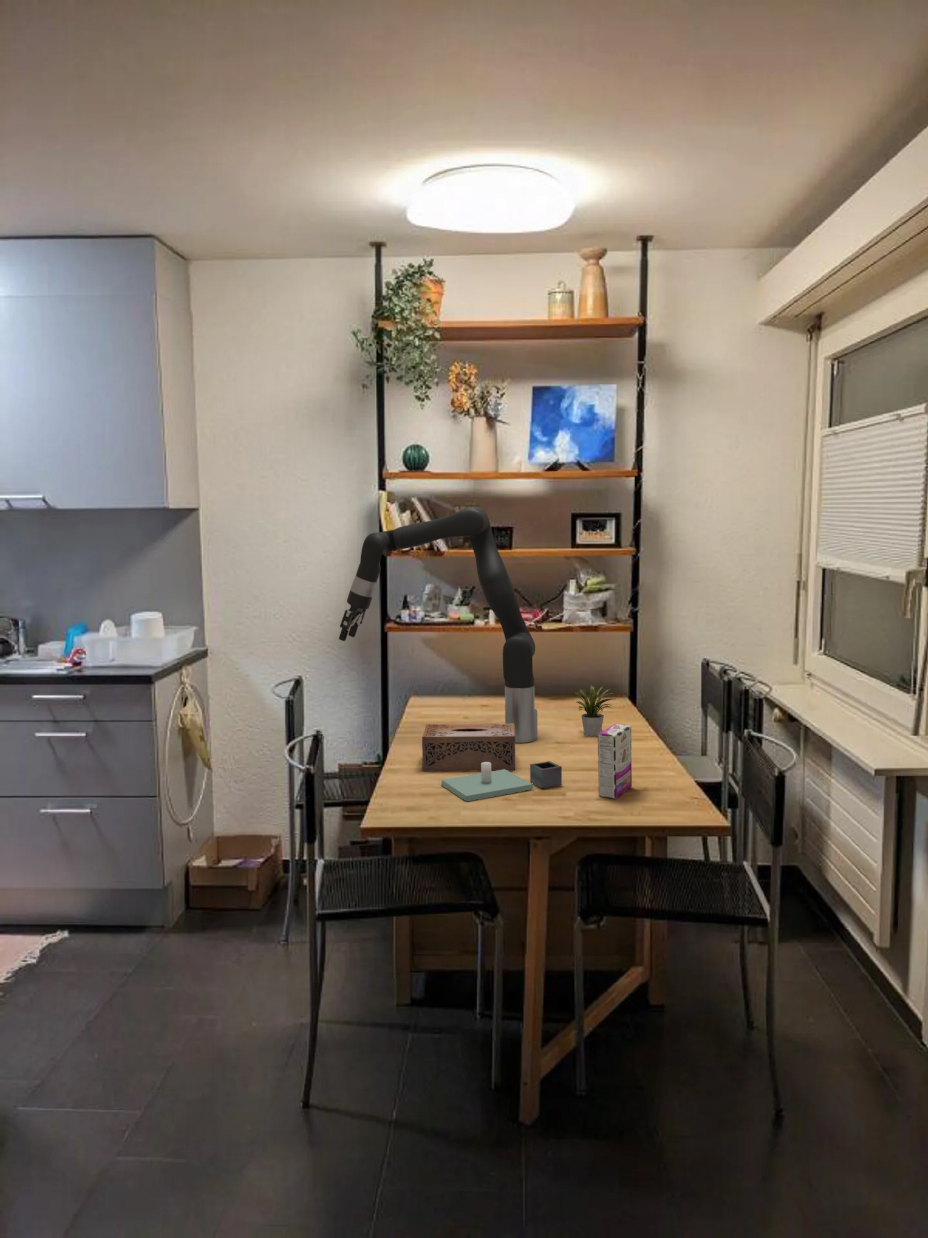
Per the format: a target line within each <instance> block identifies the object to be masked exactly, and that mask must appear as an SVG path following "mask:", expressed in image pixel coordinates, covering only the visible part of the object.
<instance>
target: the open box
mask: <svg viewBox="0 0 928 1238" xmlns="http://www.w3.org/2000/svg"><path fill="white" fill-rule="evenodd" d="M562 768H563V767H562V766H560V765H558V764H556V763H554V762H552V761H551V760H548V761H542V762H536V763H530V764H529V776H530V779H529V783H530V782H531V784H532V783H533V785H534V786H535V787H538V788H539V787H540V788H539V789H541V788H544V789H548V788H549V787H550V788H554V787H559V786H560V785H561V786H562V785H563V783H562V781H563V780H562V776H563V775H562V773H563V772H562V770H563V769H562ZM561 786H560V787H561Z"/></svg>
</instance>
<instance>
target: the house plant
mask: <svg viewBox="0 0 928 1238" xmlns="http://www.w3.org/2000/svg"><path fill="white" fill-rule="evenodd" d="M603 687H604V685H602V686H601V687H600V688H599V689H598V690H597V692H596V690H595V686H593V684H592V683H591V684H590V689H589V691H590V693H589V694H588V693H587V691H586V690H582V689H580V688H579V691H578V692H575V694H576V695H577V696H578V697H579V698H580V699H581V700H578V701H576V702H575V703H577V704H579V705H581V706H578V708H577V710H578V711H579V712H580V711H582V710H583V711H585V713H583V714H581V721H582V728H583V733H584V736H587V737H593V738H596V737H598V734H599V733H600V732H602V731H603V723H604V714H602V713H600V712H603V710H604V709H606V708H611V709H613V707H614V706H612V705H611V703H605V702H608V701H613V700H615V698H613V697H612V698H606V697H607V696H608V695H611V694H612V695H613V692H610V693H607V692H609V691H610V690H611V689H609V688H608V689H607V690H605V691H604V692H602V693H601V694H600V692H601V690H602V689H603ZM599 694H600V696H599ZM598 696H599V697H598Z"/></svg>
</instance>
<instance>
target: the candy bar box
mask: <svg viewBox="0 0 928 1238" xmlns="http://www.w3.org/2000/svg"><path fill="white" fill-rule="evenodd" d="M597 758H598V759H597V762H598V763H597V764H598V797H600V796H601V798H606V797H607V799H614V800H617V799H618V798H619V797H620V796H622V795H623V794H624V793H625V792H627V791H628V790H629V789H631V788H632V786H633V785H632V783H633V782H632V781H633V780H632V779H633V778H632V725H628V724H619V723H614V724H613V725H611V726H609V727H607V728H605V729H604V730H601V732H600V733H599V734H598V736H597Z"/></svg>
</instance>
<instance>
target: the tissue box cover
mask: <svg viewBox="0 0 928 1238" xmlns="http://www.w3.org/2000/svg"><path fill="white" fill-rule="evenodd" d="M421 747H422V752H421V753H422V771H423V772H432V771H431V770H434V771H433V772H456V771H457V772H459V771H458V770H464V771H469V772H471V771H470V770H481V763H482V762H490V763H491V770H496V771H497V770H503V769H505V770H507V771H516V743H515V728H514V723H512V724H505V723H426V724H425V727H424V731H423V733H422V735H421ZM429 770H430V771H429ZM449 770H450V771H449ZM464 771H463V772H464Z"/></svg>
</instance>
